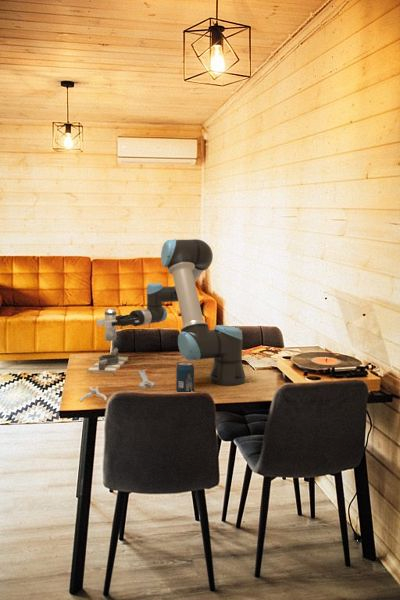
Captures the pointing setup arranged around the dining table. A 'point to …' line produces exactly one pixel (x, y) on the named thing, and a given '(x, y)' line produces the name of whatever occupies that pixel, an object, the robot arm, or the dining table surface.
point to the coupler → (110, 331)
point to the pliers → (92, 393)
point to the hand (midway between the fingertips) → (101, 323)
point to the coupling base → (108, 363)
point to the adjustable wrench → (145, 380)
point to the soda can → (185, 377)
